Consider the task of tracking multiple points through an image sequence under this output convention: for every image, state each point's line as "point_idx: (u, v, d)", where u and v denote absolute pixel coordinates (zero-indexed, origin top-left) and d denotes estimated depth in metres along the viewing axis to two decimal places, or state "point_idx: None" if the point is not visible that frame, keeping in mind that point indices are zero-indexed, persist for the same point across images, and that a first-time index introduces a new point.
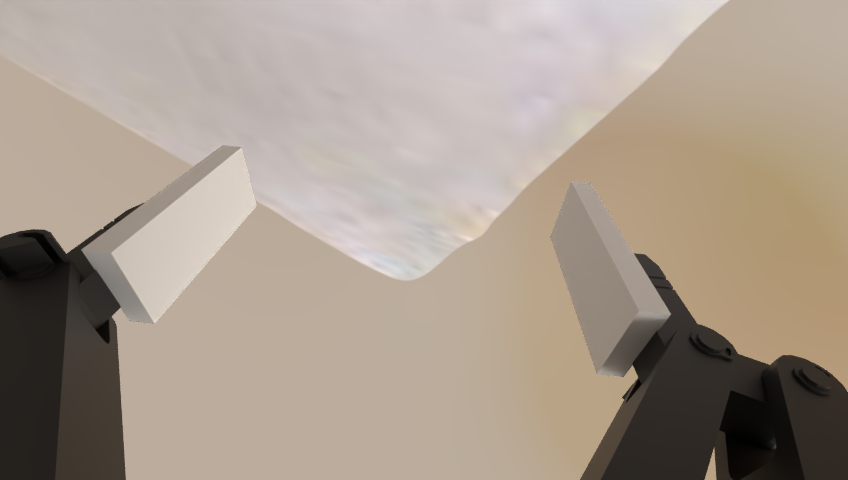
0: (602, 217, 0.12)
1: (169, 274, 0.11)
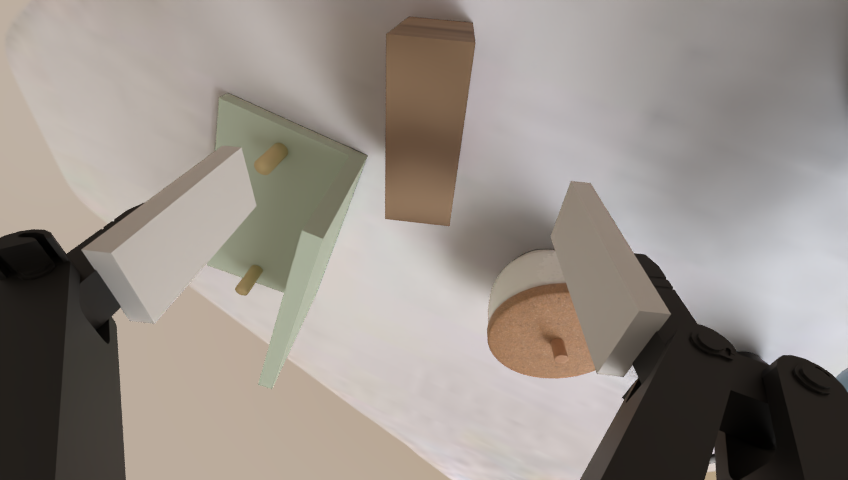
0: (602, 217, 0.12)
1: (169, 274, 0.11)
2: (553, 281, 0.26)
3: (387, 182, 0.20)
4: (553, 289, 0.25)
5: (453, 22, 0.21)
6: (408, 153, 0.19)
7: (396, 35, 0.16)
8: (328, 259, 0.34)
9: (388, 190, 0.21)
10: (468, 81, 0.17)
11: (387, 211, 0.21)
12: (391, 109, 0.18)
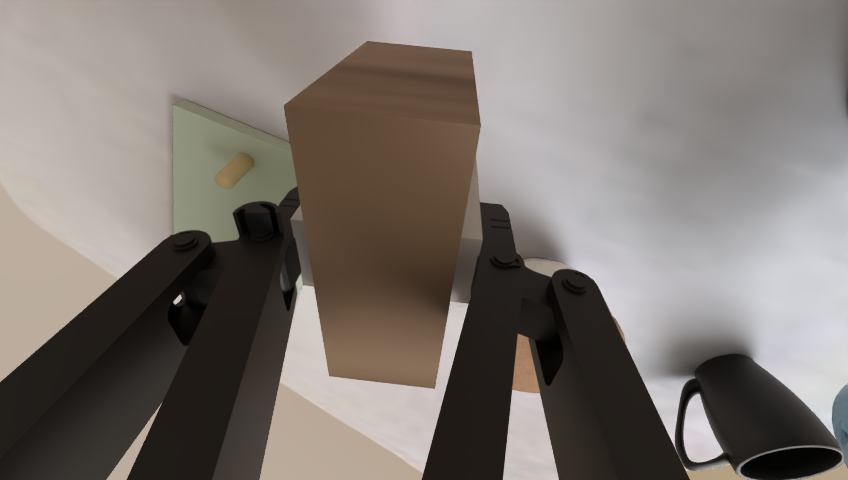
0: None
1: None
2: None
3: (325, 334, 0.12)
4: None
5: (439, 53, 0.13)
6: (357, 299, 0.10)
7: (306, 108, 0.07)
8: None
9: (329, 344, 0.12)
10: (465, 195, 0.08)
11: (331, 368, 0.13)
12: (316, 236, 0.09)
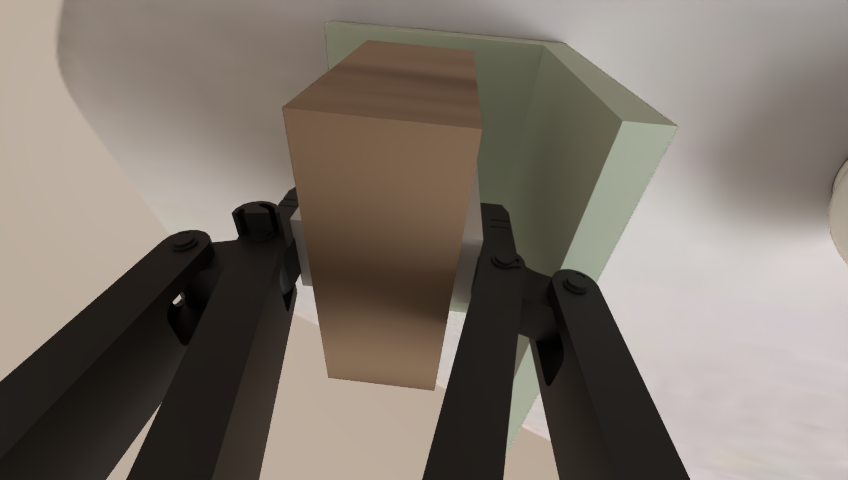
0: None
1: None
2: None
3: (325, 336, 0.12)
4: None
5: (440, 52, 0.12)
6: (356, 302, 0.10)
7: (305, 110, 0.07)
8: None
9: (328, 346, 0.12)
10: (466, 199, 0.08)
11: (330, 369, 0.13)
12: (315, 239, 0.09)
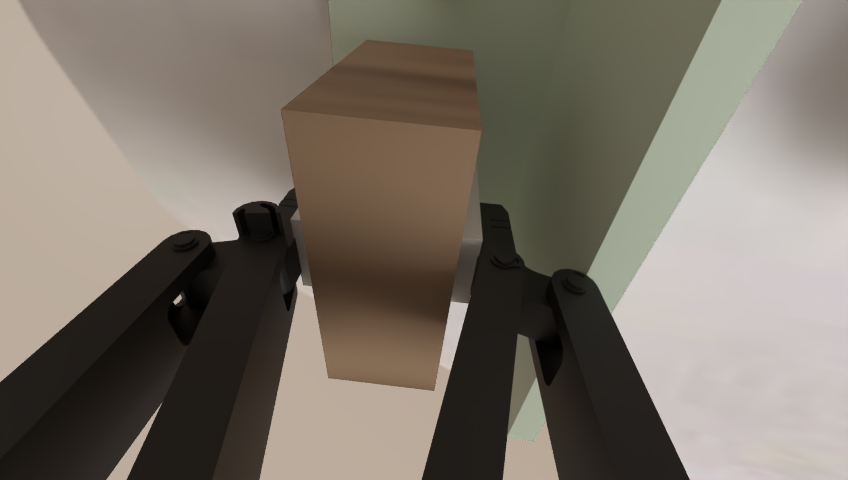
0: None
1: None
2: None
3: (324, 337, 0.12)
4: None
5: (439, 52, 0.12)
6: (356, 303, 0.10)
7: (304, 112, 0.07)
8: None
9: (328, 346, 0.12)
10: (466, 200, 0.08)
11: (330, 370, 0.13)
12: (314, 240, 0.09)
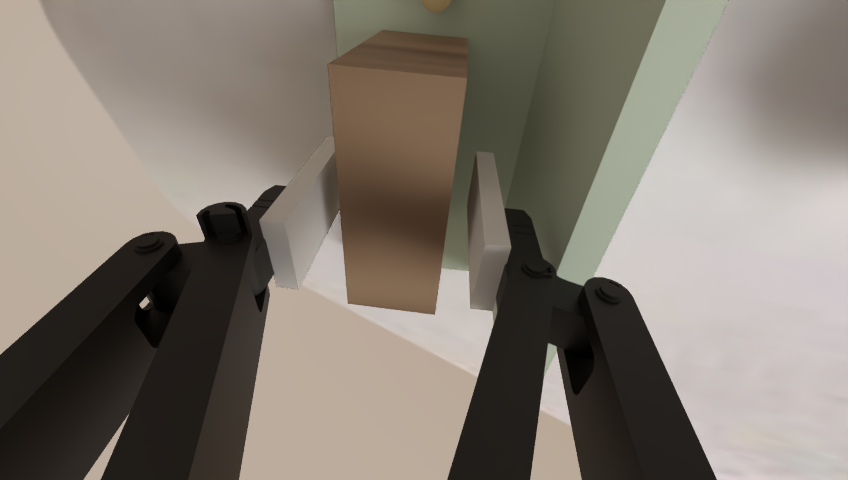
0: (489, 178, 0.13)
1: (307, 247, 0.12)
2: None
3: (347, 261, 0.15)
4: None
5: (441, 38, 0.16)
6: (373, 227, 0.13)
7: (343, 66, 0.10)
8: None
9: (349, 271, 0.15)
10: (457, 134, 0.11)
11: (350, 295, 0.16)
12: (344, 170, 0.12)
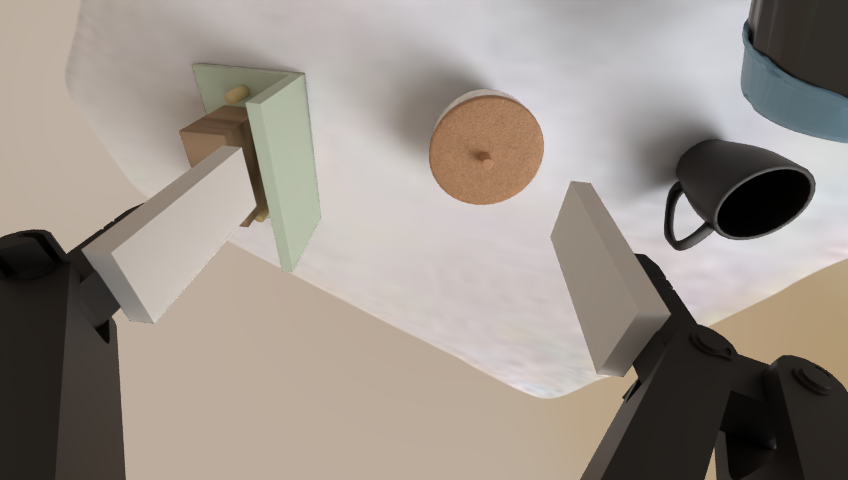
0: (602, 217, 0.12)
1: (169, 274, 0.11)
2: (458, 103, 0.32)
3: None
4: (456, 107, 0.31)
5: (246, 110, 0.37)
6: None
7: (184, 131, 0.31)
8: (314, 176, 0.43)
9: None
10: None
11: None
12: (193, 165, 0.33)
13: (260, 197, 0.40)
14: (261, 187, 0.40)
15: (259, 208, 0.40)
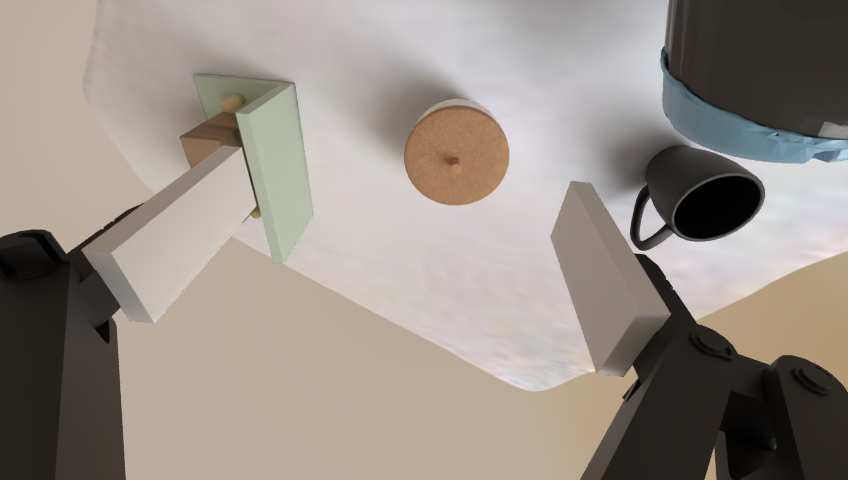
0: (602, 217, 0.12)
1: (169, 274, 0.11)
2: (429, 113, 0.34)
3: None
4: (426, 116, 0.34)
5: None
6: None
7: (184, 137, 0.35)
8: (305, 177, 0.46)
9: None
10: None
11: None
12: None
13: (255, 195, 0.43)
14: None
15: None
